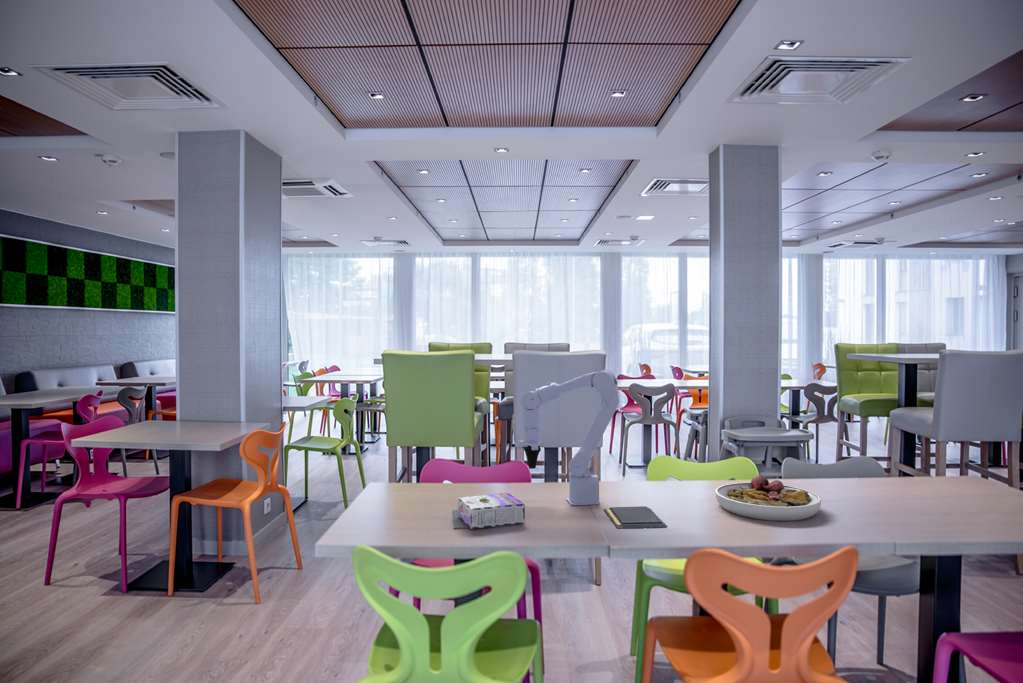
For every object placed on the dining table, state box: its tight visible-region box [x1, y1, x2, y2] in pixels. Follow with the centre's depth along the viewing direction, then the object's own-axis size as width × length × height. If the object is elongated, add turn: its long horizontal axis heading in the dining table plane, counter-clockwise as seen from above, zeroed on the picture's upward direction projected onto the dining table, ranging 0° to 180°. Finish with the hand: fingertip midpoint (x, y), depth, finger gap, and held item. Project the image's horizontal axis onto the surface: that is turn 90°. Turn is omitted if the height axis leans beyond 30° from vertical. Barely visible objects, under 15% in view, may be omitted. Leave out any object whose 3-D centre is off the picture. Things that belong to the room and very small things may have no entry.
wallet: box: [603, 505, 668, 530], centre depth 178 cm, size 20×2×15 cm
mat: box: [452, 509, 511, 530], centre depth 179 cm, size 16×18×1 cm
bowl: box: [714, 475, 822, 522], centre depth 186 cm, size 30×30×8 cm
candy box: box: [457, 492, 526, 530], centre depth 177 cm, size 14×6×16 cm
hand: (532, 468), depth 200 cm, fingers closed
